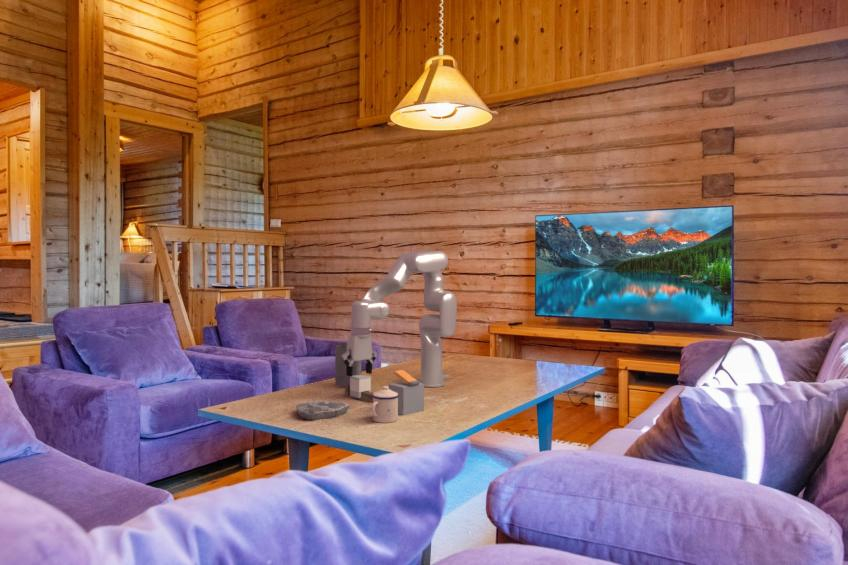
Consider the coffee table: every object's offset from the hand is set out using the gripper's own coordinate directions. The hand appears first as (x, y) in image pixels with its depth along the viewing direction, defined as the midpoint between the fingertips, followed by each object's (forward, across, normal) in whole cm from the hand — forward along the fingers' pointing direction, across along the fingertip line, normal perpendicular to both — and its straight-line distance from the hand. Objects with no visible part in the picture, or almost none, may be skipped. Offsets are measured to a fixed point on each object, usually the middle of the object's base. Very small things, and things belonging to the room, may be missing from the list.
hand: (359, 374), depth 237 cm
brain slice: (+11, +25, +10) cm, 29 cm away
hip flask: (+10, -10, -21) cm, 25 cm away
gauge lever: (-2, -1, +27) cm, 27 cm away
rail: (+10, -1, +9) cm, 13 cm away
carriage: (+10, -1, 0) cm, 10 cm away
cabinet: (+10, -1, +28) cm, 29 cm away
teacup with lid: (+10, +14, +32) cm, 36 cm away
